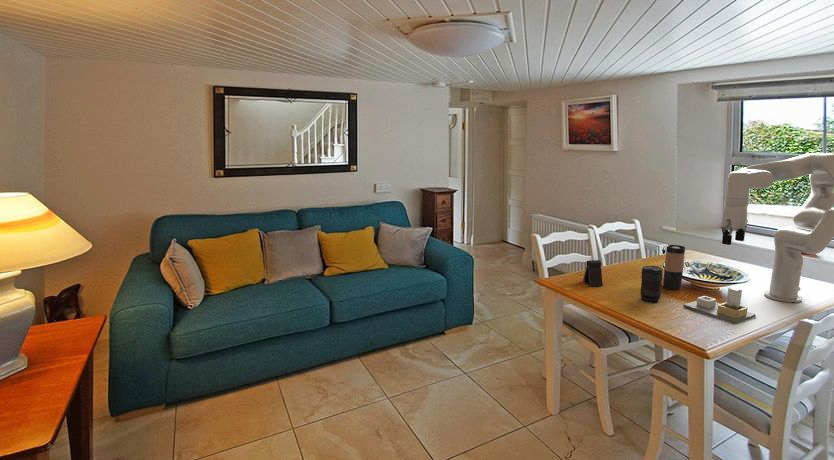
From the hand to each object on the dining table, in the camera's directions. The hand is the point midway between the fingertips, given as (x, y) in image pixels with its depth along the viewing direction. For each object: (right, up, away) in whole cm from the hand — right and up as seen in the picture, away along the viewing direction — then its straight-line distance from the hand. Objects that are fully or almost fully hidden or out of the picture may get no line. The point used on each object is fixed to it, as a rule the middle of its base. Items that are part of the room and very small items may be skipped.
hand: (733, 242), depth 182 cm
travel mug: (-10, -22, +26) cm, 36 cm away
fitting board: (-9, -28, -4) cm, 30 cm away
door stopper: (-45, -22, +34) cm, 60 cm away
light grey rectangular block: (-6, -28, -8) cm, 30 cm away
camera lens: (-29, -26, +11) cm, 41 cm away
